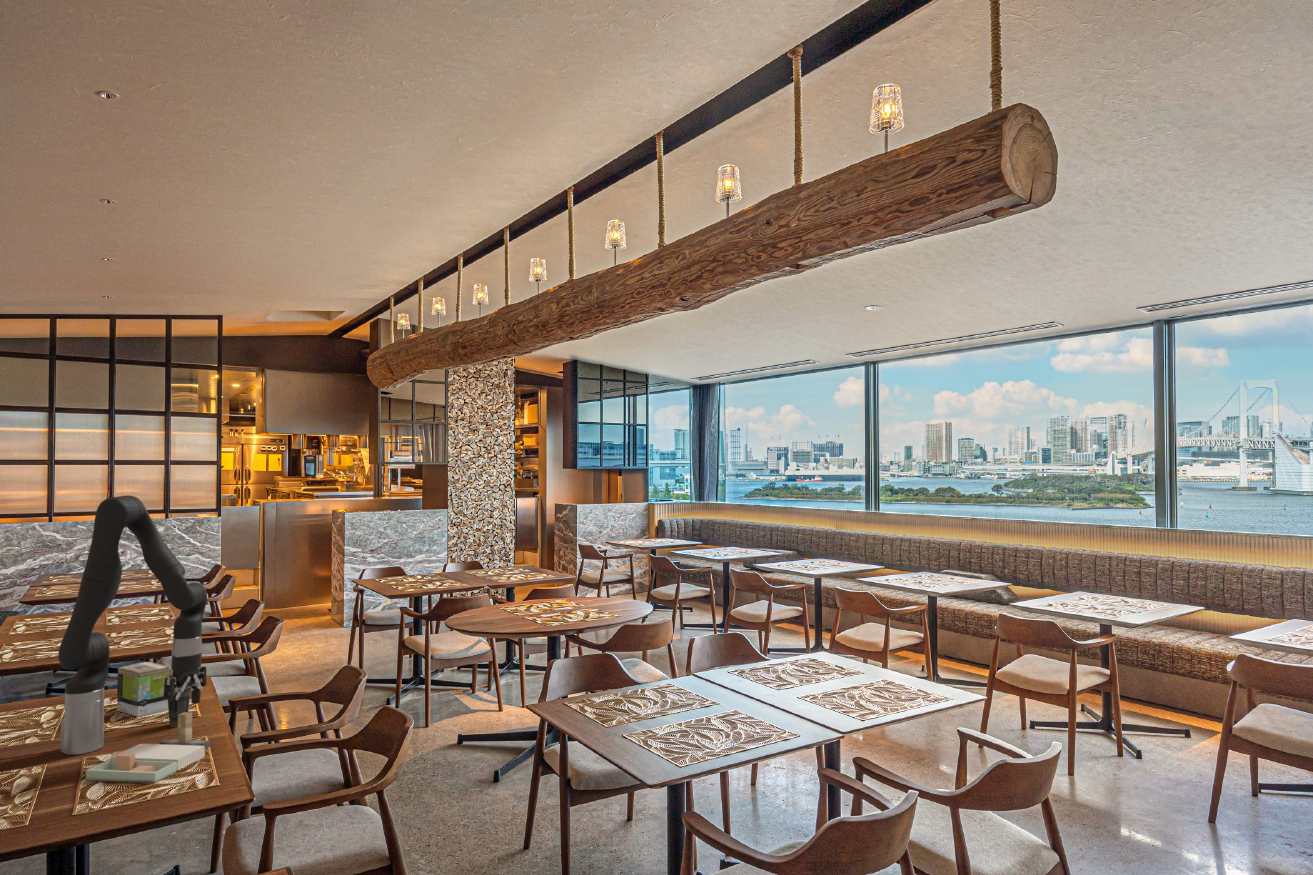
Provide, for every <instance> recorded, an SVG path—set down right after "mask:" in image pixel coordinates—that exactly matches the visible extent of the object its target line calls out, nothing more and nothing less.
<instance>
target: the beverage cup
mask: <svg viewBox="0 0 1313 875" xmlns="http://www.w3.org/2000/svg"><path fill="white" fill-rule="evenodd" d="M176 688H178V687H177V686H176ZM176 693H177V692H175V693H174V695H176ZM169 694H170V691H168V695H169ZM191 695H192V688H191V687H190V686H189V687H187V688H185V689H184V691H183V692H182V693H181V694H180V696H179V698H178V699H179V711H178V712H177V713H170V711H169V703H170V701H169V700H168V709H167V710H168V718H169V719H168V720H169V727H170V728H178V715H179V714H181V713H184V712H189V707H190V706H189V705H190V698H191Z"/></svg>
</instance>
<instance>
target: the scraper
mask: <svg viewBox="0 0 1313 875" xmlns="http://www.w3.org/2000/svg"><path fill="white" fill-rule="evenodd" d="M159 744H164V745H193V746H205V750H206V749H209V748H210V747H211V746H210V744H211V740H208V739H206V740H203V739H202V740H201V739H193V712H190V711H188V712H184V713H181V714H179V715H178V727H177V739H172V738H166V739H163V740H162V741H159Z"/></svg>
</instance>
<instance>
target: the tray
mask: <svg viewBox="0 0 1313 875" xmlns="http://www.w3.org/2000/svg"><path fill="white" fill-rule="evenodd" d="M140 765H142V766H154V772H140V771H116V759H111V758H110V759H108V760H106V761H103V762H102V763H100V764H97V765H95V766H92V767H91V768H89V769H86V770H85V781H99V782H100V781H103V782H121V781H122V782H124V783H147V784H148V783H149V784H151V783H152V784H156V783H158V782H160V781H161V780H164V779H165V778H167V777H170V776H172V775H173V774H175V773H177V772H178V771H177V762H172V761H145V760H135V768H136V767H138V766H140ZM176 771H177V772H176Z"/></svg>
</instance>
